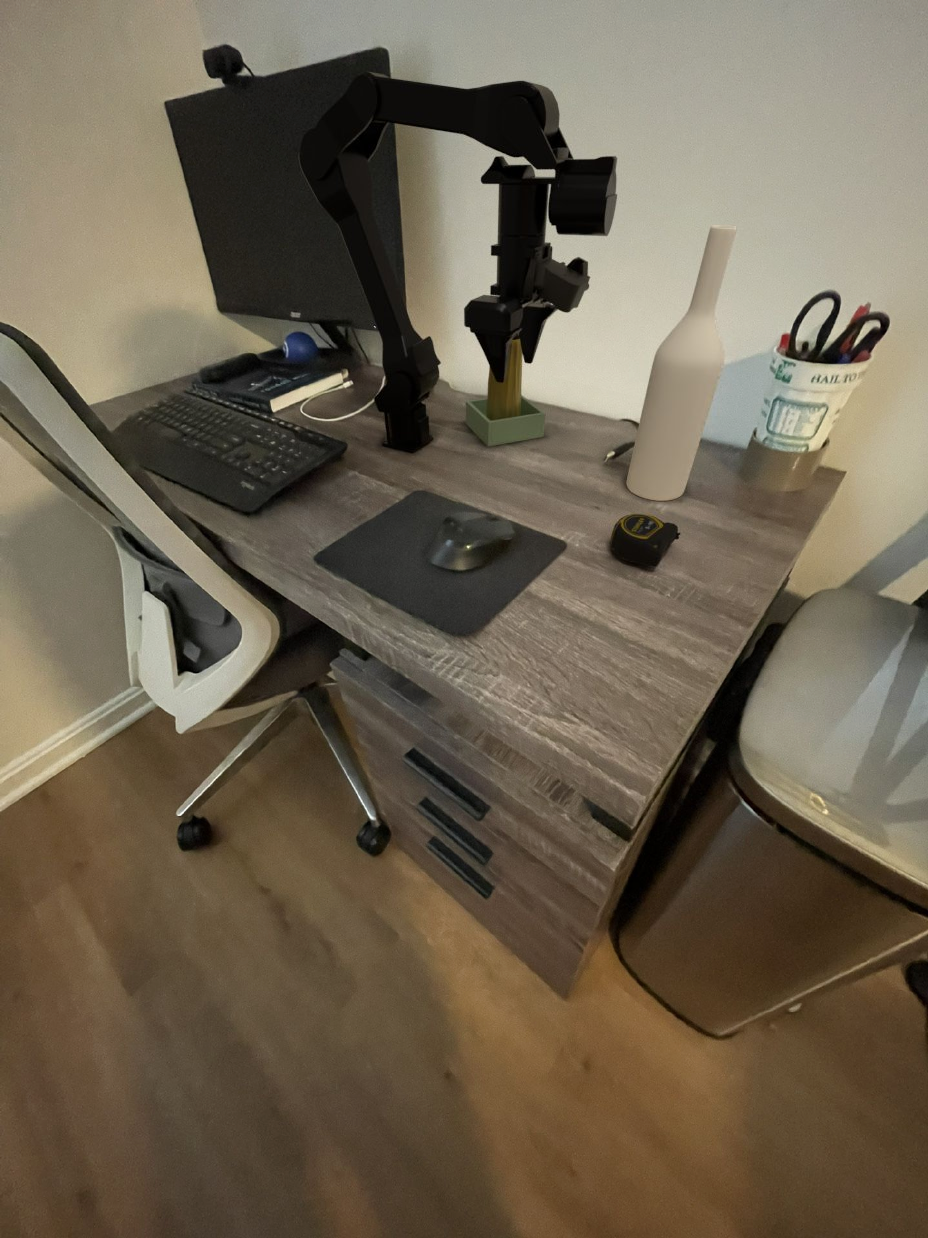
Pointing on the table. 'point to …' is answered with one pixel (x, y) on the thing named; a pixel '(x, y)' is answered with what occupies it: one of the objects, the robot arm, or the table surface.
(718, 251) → the bottle
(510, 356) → the vase
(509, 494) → the table surface
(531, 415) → the green open-top tray
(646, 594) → the table surface
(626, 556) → the tape measure
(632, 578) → the table surface
